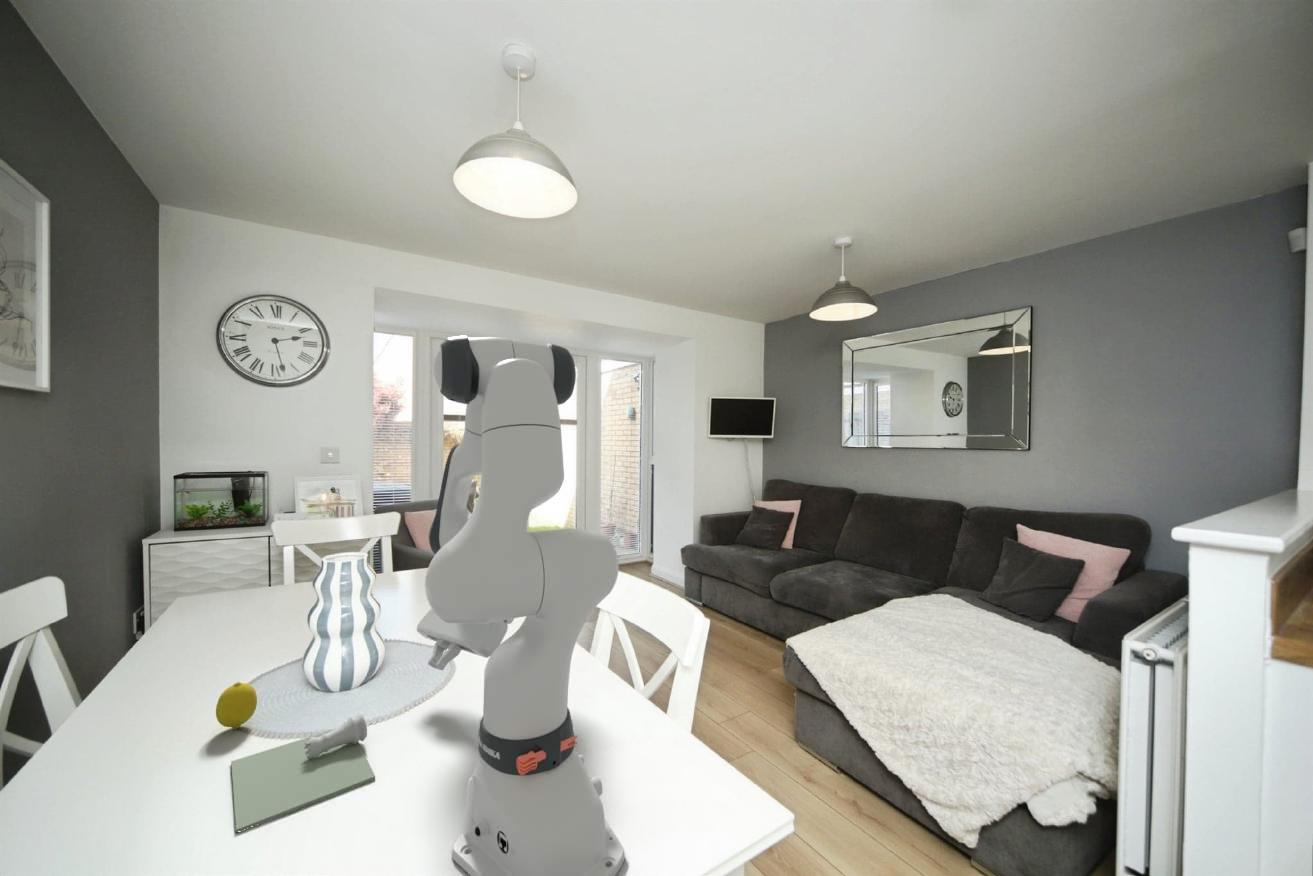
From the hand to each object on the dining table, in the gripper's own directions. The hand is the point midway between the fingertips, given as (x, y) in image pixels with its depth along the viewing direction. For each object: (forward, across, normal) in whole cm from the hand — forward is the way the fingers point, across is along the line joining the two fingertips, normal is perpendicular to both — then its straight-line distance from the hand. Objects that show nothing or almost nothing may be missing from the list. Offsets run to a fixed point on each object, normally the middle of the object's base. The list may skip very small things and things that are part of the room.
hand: (434, 667), depth 94 cm
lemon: (+21, -24, -10) cm, 33 cm away
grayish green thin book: (+21, -2, -9) cm, 23 cm away
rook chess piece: (+12, -2, -4) cm, 13 cm away
